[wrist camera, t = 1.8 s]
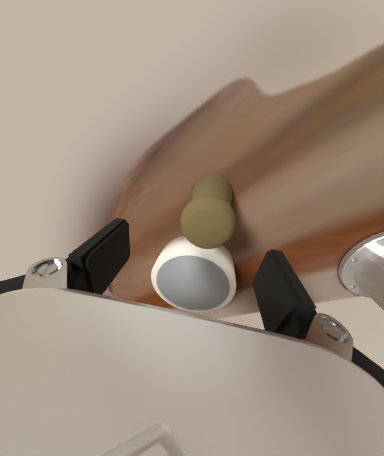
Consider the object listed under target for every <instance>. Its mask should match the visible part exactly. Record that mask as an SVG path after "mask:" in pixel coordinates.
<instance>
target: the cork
mask: <svg viewBox="0 0 384 456" xmlns="http://www.w3.org/2000/svg"><path fill="white" fill-rule="evenodd" d="M232 196H233V191H232V186H231V185H230V183H229V181H228V180H227V179H225V178H224V177H223V176H220V175H217V174H207V175H204V176H202V177H201V178H199V179H198V180H197V181H196V182H195V184H194V185H193V188H192V192H191V201H190V202H189V203H188V204H187V206H186V207H185V209H184V210H183V212H182V216H181V230H182V232H183V234H184V236H185V237H186V239H187V240H188V241H189V242H190V243H192V244H193V245H195V246H196V247H199V248H202V249H214V248H218V247H220V246H222V245H224V244H225V243H226V242H227V241H229V240H230V239H231V237H232V235H233V233H234V231H235V225H236V219H235V215H234V211H233V209H232V208H231V203H232Z"/></svg>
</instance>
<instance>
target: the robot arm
mask: <svg viewBox="0 0 384 456" xmlns="http://www.w3.org/2000/svg"><path fill="white" fill-rule="evenodd" d="M129 257H130V242H129V224H128V222H126V220H124V219H119V218H116V219H114V220H113V221H112V222H110V223H109V224H108V225H107V226H105V227H104V228H103V229H101V230H100V231H99V232H97V233H96V234H95V235H94V236H92V237H91V238H90V239H89V240H87V241H86V242H85V243H83V244H82V245H81V246H79V247H78V248H77V249H75V250H74V251H73V252H72V253H70V254H69V257H68V258H67V259H63V258H59V257H53V258H47V259H43V260H41V261H38V262H36V263H35V264H33V265H32V266H31V267H30V268H29V269H28V270H27V273H26V275H23V276H19V277H16V278H12V279H8V280H4V281H0V456H384V369H382V368H381V367H380V366H378V365H377V364H376V363H374V362H373V361H371V360H370V359H369V358H368V357H366V356H365V355H364V354H362V353H361V352H360V351H359V350H357V349H356V348H354V347H353V339H352V337H351V335H350V333H349V332H348V330H347V329H346V328H345V327H344V326H343V325H342V324H341V323H340V322H338V321H337V320H336V319H334V318H332V317H331V316H329V315H326V314H322V313H319V314H317V312H316V310H315V308H316V306H315V305H314V303H313V301H312V300H311V298H310V296H309V295H308V293H307V291H306V290H305V288H304V287H303V285H302V283H301V282H300V280H299V278H298V277H297V275H296V274H295V272H294V270H293V269H292V267H291V265H290V264H289V262H288V260H287V259H286V257H285V256H284V254H283V252H282V251H278V250H273V249H272V250H270V251H268V252H267V253H266V255H265V257H264V259H263V261H262V263H261V265H260V267H259V270H258V272H257V274H256V276H255V278H254V280H253V287H254V291H255V294H256V298H257V302H258V306H259V309H260V313H261V317H262V321H263V324H264V328H265V330H261V329H257V328H252V327H248V326H243V325H239V324H235V323H230V322H225V321H221V320H217V319H212V318H208V317H203V316H199V315H194V314H190V313H185V312H181V311H176V310H171V309H167V308H162V307H158V306H153V305H148V304H144V303H139V302H134V301H129V300H125V299H120V298H115V297H110V296H106V295H102V294H103V293H104V291H105V290H106V289H107V287H108V286H109V285H110V283H111V282H112V281H113V279H114V278H115V277H116V275H117V274H118V273H119V271H120V270H121V268H122V267H123V266H124V264H125V263H126V262H127V260H128V259H129ZM338 275H339V278H340V280H341V282H342V283H343V284H344V286H345V287H346V288H347V289H348V290H350V291H351V292H353V293H355V294H357V295H360V296H364V297H370V298H372V299H373V300H374V301H375V302H376V303H377V304H378V305H379V306H380V307H381V308H382V309H383V310H384V232H381V233H378V234H375V235H373V236H371V237H369V238H367V239H365V240H363V241H361V242H360V243H358V244H357V245H355V246H354V247H353V248H352V249H350V250H349V251H348V252H347V254H346V255H345V256H344V257H343V259H342V261H341V262H340V265H339V268H338Z"/></svg>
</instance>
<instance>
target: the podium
mask: <svg viewBox="0 0 384 456" xmlns="http://www.w3.org/2000/svg"><path fill="white" fill-rule="evenodd" d="M151 280H152V284H153V287H154V289H155V290H156V292H157V293H158V294H159V296H160V297H161V298H162V299H164V300H165V301H166V302H167V303H169V304H171V305H172V306H174V307H176V308H179V309H182V310H185V311H189V312H199V313H202V312H211V311H215V310H218V309H220V308H222V307H224V306H225V305H227V304H228V303H229V302H230V301H231V300H232V298H233V296H234V295H235V291H236V279H235V270H234V263H233V259H232V256H231V254H230V253H229V251H228V250H227V249H226V248H225V247H224V246H223V245H222V246H220V247H218V248H214V249H202V248H199V247H196V246H195V245H193V244H192V243H190V242H189V241H188V240H187V239H186V237H185V236H184V235H182V236H179V237H176V238H174V239H172V240H171V241H169V242H168V243H167V244H166V245H165V247H164V248H163V250H162V252H161V254H160V255H159V257H158V259H157V261H156V263H155V265H154V267H153V269H152V273H151Z"/></svg>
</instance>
